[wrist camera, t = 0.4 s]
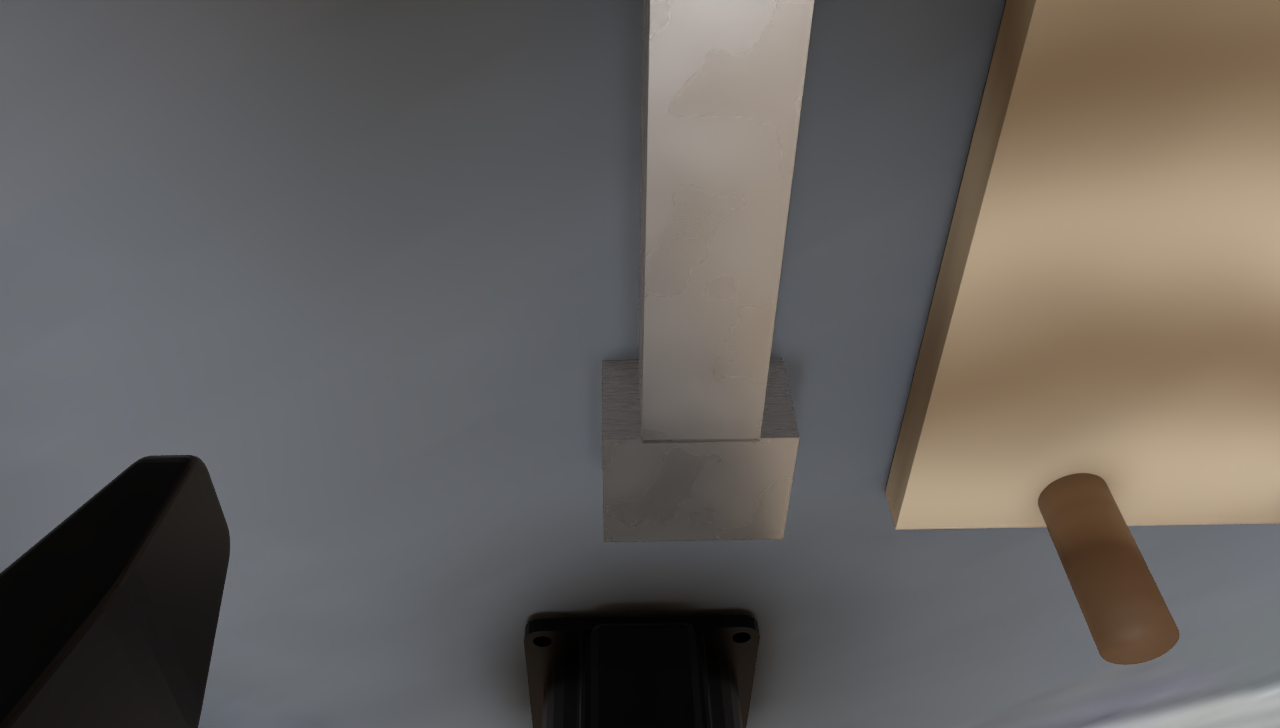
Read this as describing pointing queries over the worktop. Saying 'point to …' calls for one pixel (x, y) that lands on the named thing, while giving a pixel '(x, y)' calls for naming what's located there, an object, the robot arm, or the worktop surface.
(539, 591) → the worktop surface
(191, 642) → the robot arm
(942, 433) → the peg board
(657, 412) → the beige stepped post
